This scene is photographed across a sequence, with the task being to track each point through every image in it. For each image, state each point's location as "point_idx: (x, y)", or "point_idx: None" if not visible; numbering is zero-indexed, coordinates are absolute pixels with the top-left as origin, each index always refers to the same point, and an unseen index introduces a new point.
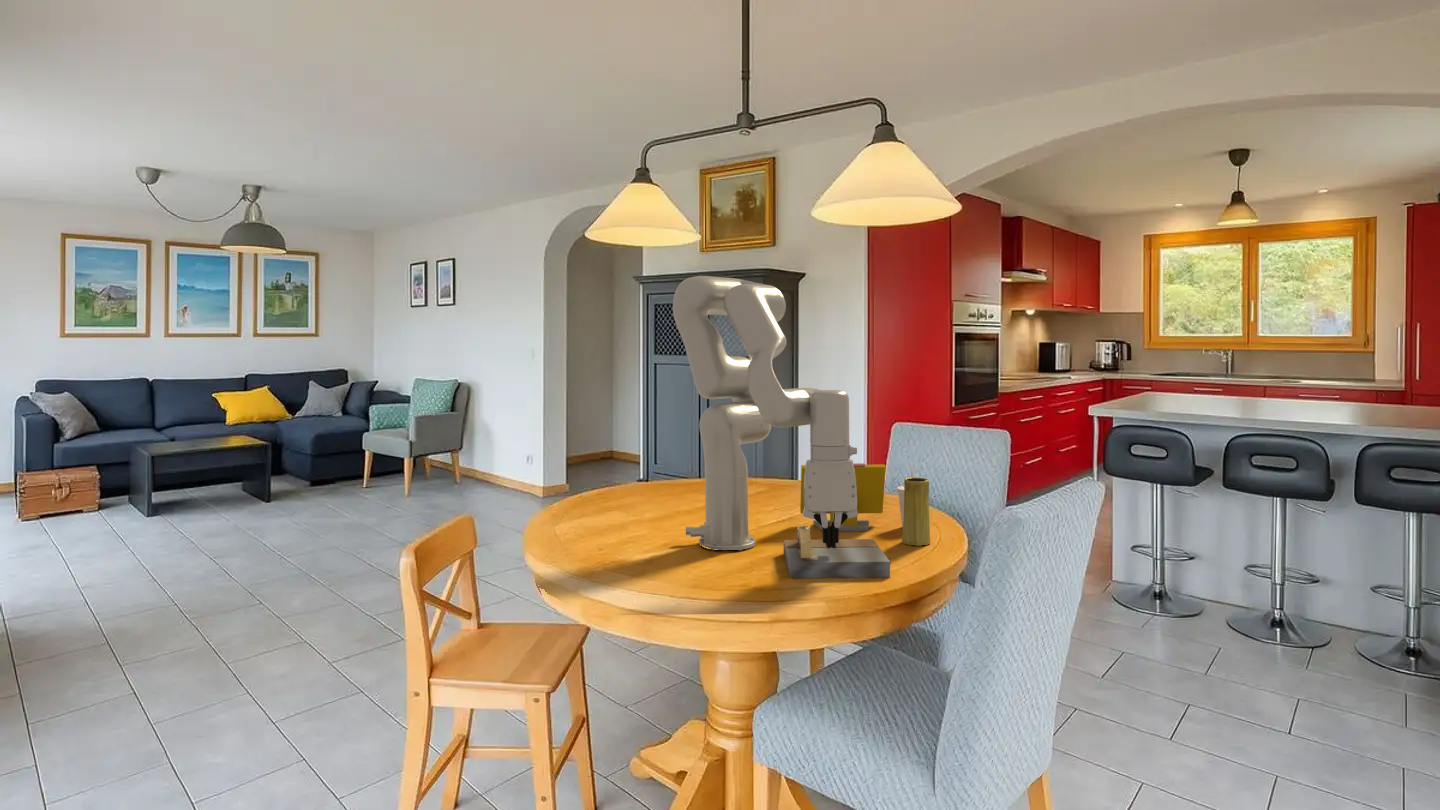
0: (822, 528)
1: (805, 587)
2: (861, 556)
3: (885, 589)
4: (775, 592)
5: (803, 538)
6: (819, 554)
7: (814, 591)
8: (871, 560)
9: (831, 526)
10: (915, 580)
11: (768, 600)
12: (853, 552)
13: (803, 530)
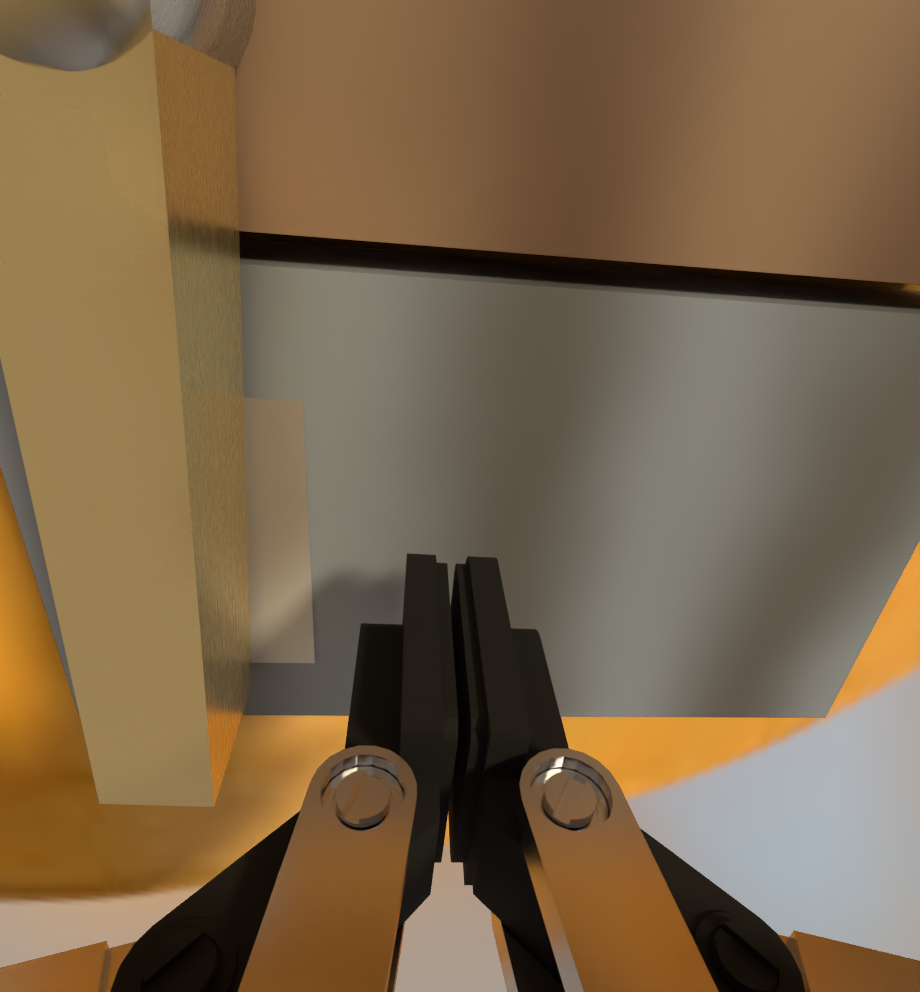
0: (346, 740)
1: (235, 759)
2: (691, 603)
3: (643, 787)
4: (72, 812)
5: (111, 668)
6: (341, 528)
7: (282, 803)
8: (716, 690)
9: (480, 775)
10: (870, 687)
11: (56, 884)
12: (678, 491)
13: (54, 222)
